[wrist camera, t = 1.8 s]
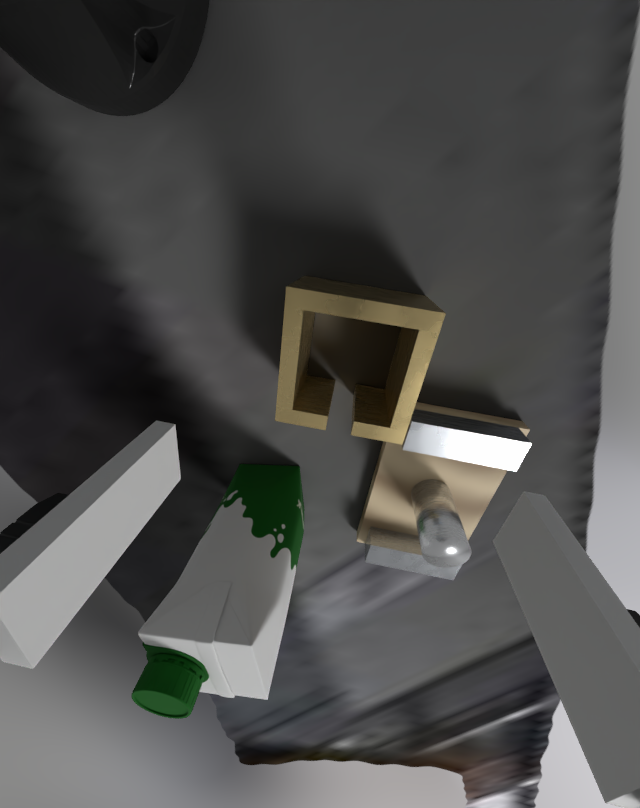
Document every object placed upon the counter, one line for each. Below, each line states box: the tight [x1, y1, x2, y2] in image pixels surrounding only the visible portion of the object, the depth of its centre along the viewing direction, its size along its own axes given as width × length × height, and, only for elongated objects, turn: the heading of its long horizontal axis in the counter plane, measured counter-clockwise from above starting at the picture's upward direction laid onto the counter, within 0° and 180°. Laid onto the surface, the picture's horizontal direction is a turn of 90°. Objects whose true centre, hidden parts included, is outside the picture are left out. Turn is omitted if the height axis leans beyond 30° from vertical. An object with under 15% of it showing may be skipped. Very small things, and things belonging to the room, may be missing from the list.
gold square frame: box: [275, 276, 446, 445], centre depth 25 cm, size 10×10×7 cm
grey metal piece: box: [365, 409, 532, 580], centre depth 29 cm, size 19×10×7 cm, turn 172°
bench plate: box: [357, 402, 530, 543], centre depth 33 cm, size 19×12×2 cm, turn 172°
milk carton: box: [132, 464, 304, 718], centre depth 28 cm, size 9×9×20 cm
